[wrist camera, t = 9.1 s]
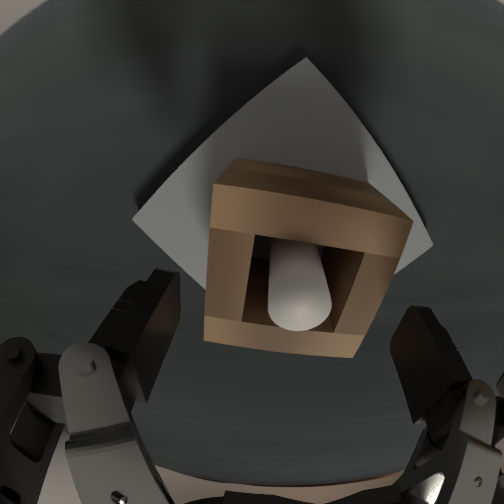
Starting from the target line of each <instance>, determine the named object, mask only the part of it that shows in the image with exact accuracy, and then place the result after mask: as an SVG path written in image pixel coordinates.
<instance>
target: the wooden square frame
mask: <svg viewBox="0 0 504 504" xmlns="http://www.w3.org/2000/svg"><path fill="white" fill-rule="evenodd" d="M413 222H414V221H413V220H412V219H411V218H410V217H409V216H407V215H406V214H405V213H404V212H403V211H402V210H401V209H400V208H398V207H397V206H396V205H395V204H394V203H393V202H391V201H390V200H389V199H388V198H387V197H386V196H384V195H383V194H382V193H381V192H380V191H378V190H377V189H376V188H375V187H373V186H372V185H371V184H370V183H368V182H364V181H360V180H356V179H352V178H347V177H343V176H338V175H334V174H329V173H324V172H320V171H315V170H309V169H304V168H299V167H293V166H288V165H282V164H276V163H270V162H263V161H256V160H249V159H242V158H235V159H234V160H233V161H232V163H231V164H230V165H229V166H228V167H227V168H226V169H225V171H224V172H223V173H222V174H221V175H220V176H219V178H218V179H217V180H216V181H215V182H214V184H213V194H212V206H211V218H210V230H209V244H208V259H207V276H206V296H205V319H204V341H210V342H216V343H221V344H227V345H234V346H240V347H247V348H254V349H261V350H269V351H277V352H286V353H295V354H305V355H317V356H330V357H347V358H353V356H354V355H355V353H356V351H357V349H358V347H359V346H360V344H361V342H362V340H363V338H364V336H365V334H366V332H367V331H368V329H369V327H370V325H371V323H372V321H373V319H374V317H375V315H376V313H377V311H378V308H379V306H380V304H381V302H382V300H383V298H384V296H385V293H386V291H387V289H388V287H389V284H390V282H391V280H392V277H393V275H394V273H395V270H396V268H397V265H398V263H399V260H400V258H401V255H402V253H403V250H404V247H405V245H406V242H407V239H408V237H409V234H410V231H411V228H412V225H413ZM255 234H256V235H262V236H269V237H275V238H281V239H288V240H294V241H300V242H306V243H312V244H318V245H324V249H323V252H322V256H321V259H320V260H321V263H322V267H323V271H324V274H325V278H326V282H327V285H328V289H329V293H330V297H331V302H332V307H331V311H330V313H329V315H328V317H327V318H326V319H325V320H324V321H323V322H322V323H321V324H319V325H318V326H316V327H314V328H312V329H308V330H304V331H291V330H287V329H284V328H282V327H280V326H278V325H277V324H275V323H274V322H273V320H272V319H271V318H270V316H269V313H268V293H269V269H270V260H268V259H262V258H255V257H252V250H253V244H254V238H255Z"/></svg>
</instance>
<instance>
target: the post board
mask: <svg viewBox="0 0 504 504" xmlns="http://www.w3.org/2000/svg"><path fill="white" fill-rule="evenodd" d="M235 158H242V159H249V160H256V161H263V162H270V163H276V164H282V165H288V166H293V167H299V168H304V169H309V170H315V171H320V172H324V173H329V174H334V175H338V176H343V177H347V178H352V179H356V180H360V181H364V182H368V183H370V184H371V185H372V186H373V187H375V188H376V189H377V190H378V191H380V192H381V193H382V194H383V195H384V196H386V197H387V198H388V199H389V200H390V201H391V202H393V203H394V204H395V205H396V206H397V207H398V208H400V209H401V210H402V211H403V212H404V213H405V214H406V215H407V216H409V217H410V218H411V219H412V220H413V221H414V222H413V225H412V228H411V231H410V234H409V237H408V239H407V242H406V245H405V247H404V250H403V253H402V255H401V258H400V260H399V263H398V265H397V268H396V270H395V273H394V274H396V273H397V272H398V271H400V270H401V269H402V268H404V267H405V266H407V265H408V264H409V263H411V262H412V261H413V260H415V259H416V258H417V257H419V256H420V255H421V254H423V253H424V252H425V251H427V250H428V249H429V248H430V247H432V246H433V244H432V241H431V239H430V237H429V235H428V233H427V231H426V229H425V227H424V224H423V222H422V220H421V218H420V216H419V215H418V213H417V211H416V209H415V207H414V205H413V203H412V201H411V199H410V198H409V196H408V194H407V192H406V190H405V189H404V187H403V185H402V183H401V182H400V180H399V178H398V177H397V175H396V173H395V172H394V170H393V168H392V167H391V165H390V164H389V162H388V160H387V159H386V157H385V156H384V154H383V153H382V151H381V150H380V148H379V147H378V145H377V144H376V142H375V141H374V139H373V138H372V136H371V135H370V134H369V132H368V131H367V129H366V128H365V127H364V125H363V124H362V122H361V121H360V120H359V118H358V117H357V116H356V114H355V113H354V112H353V111H352V109H351V108H350V107H349V105H348V104H347V103H346V102H345V100H344V99H343V98H342V97H341V95H340V94H339V93H338V92H337V91H336V89H335V88H334V87H333V86H332V85H331V84H330V82H329V81H328V80H327V79H326V78H325V77H324V76H323V74H322V73H321V72H320V71H319V70H318V69H317V68H316V67H315V66H314V65H313V64H312V62H311V61H310V60H309V59H308V58H307V57H306V58H304V59H303V60H301V61H300V62H299V63H297V64H296V65H294V66H293V67H292V68H290V69H289V70H288V71H286V72H285V73H284V74H282V75H281V76H280V77H278V78H277V79H276V80H275V81H273V82H272V83H271V84H270V85H268V86H267V87H266V88H265V89H263V90H262V91H261V92H260V93H258V94H257V95H256V96H255V97H254V98H252V99H251V100H250V101H249V102H248V103H246V104H245V105H244V106H243V107H242V108H241V109H239V110H238V111H237V112H236V113H235V114H234V115H233V116H231V117H230V118H229V119H228V120H227V121H226V122H225V123H224V124H223V125H221V126H220V127H219V128H218V129H217V130H216V131H215V132H214V133H213V134H212V135H211V136H210V137H209V138H208V139H207V140H205V141H204V142H203V143H202V144H201V145H200V146H199V147H198V148H197V149H196V150H195V151H194V152H193V153H192V154H191V155H190V156H189V157H188V158H187V159H186V160H185V161H184V162H183V163H182V164H181V165H180V166H179V167H178V168H177V170H176V171H175V172H174V173H173V174H172V175H171V176H170V177H169V178H168V179H167V180H166V181H165V182H164V183H163V184H162V186H161V187H160V188H159V189H158V190H157V191H156V192H155V193H154V194H153V196H152V197H151V198H150V199H149V200H148V201H147V202H146V204H145V205H144V206H143V207H142V208H141V209H140V211H139V212H138V213H137V214H136V215H135V216H134V218H133V219H132V220H133V221H134V222H135V223H136V224H137V225H138V226H139V227H140V228H141V229H142V230H143V231H144V232H145V233H146V234H147V235H148V236H149V237H150V238H151V239H152V240H153V241H154V242H155V243H156V244H157V245H158V246H159V247H160V248H161V249H162V250H163V251H164V252H166V253H167V254H168V255H169V256H170V257H171V258H172V259H173V260H174V261H175V262H176V263H177V264H178V265H179V266H180V267H181V268H183V269H184V270H185V271H186V272H187V273H188V274H189V275H190V276H191V277H192V278H193V279H194V280H196V281H197V282H198V283H199V284H200V285H201V286H202V287H203V288H204V289H205V290H206V276H207V259H208V244H209V230H210V218H211V206H212V194H213V184H214V182H215V181H216V180H217V179H218V178H219V176H220V175H221V174H222V173H223V172H224V171H225V169H226V168H227V167H228V166H229V165H230V164H231V163H232V161H233V160H234V159H235ZM323 249H324V245H318V244H312V243H306V242H300V241H294V240H288V239H281V238H275V237H269V236H262V235H256V234H255V238H254V244H253V250H252V257H255V258H262V259H268V260H270V269H269V293H268V313H269V316H270V318H271V319H272V320H273V322H274V323H275V324H277V325H278V326H280V327H282V328H284V329H287V330H291V331H304V330H308V329H312V328H314V327H316V326H318V325H319V324H321V323H322V322H323V321H324V320H325V319H326V318H327V317H328V315H329V313H330V311H331V307H332V302H331V297H330V293H329V289H328V285H327V282H326V278H325V274H324V271H323V267H322V263H321V260H320V259H321V256H322V252H323Z"/></svg>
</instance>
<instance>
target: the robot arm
mask: <svg viewBox="0 0 504 504" xmlns="http://www.w3.org/2000/svg"><path fill="white" fill-rule="evenodd" d="M180 310H181V306H180V274H179V272H176V271H170V270H165V269H159V268H156V269H155V270H154V271H153V273H152V274H151V275H150V277H149V278H148V280H147V281H141V280H139V281H137V282H135V283H134V284H132V285H131V286H129V287H127V288H126V290H125V291H124V292H123V294H122V295H121V297H120V298H119V300H118V301H117V302H116V303H115V305H114V306H113V309H111V310H110V312H109V313H108V315H107V316H106V317H105V319H104V320H103V322H102V323H101V325H100V326H99V328H98V329H97V331H96V332H95V333H94V335H93V336H92V338H91V339H90V341H89V342H88V343H80V344H76V345H74V346H72V347H70V348H69V349H67V350H66V351H65V352H64V353H63V355H57V354H46V353H37V352H36V350H35V348H34V346H33V344H32V342H31V341H30V340H28V339H27V338H24V337H13V338H10V339H8V340H6V341H5V342H4V343H2V344H1V345H0V504H37V502H38V499H39V495H40V492H41V489H42V485H43V482H44V479H45V476H46V473H47V470H48V467H49V464H50V462H51V459H52V456H53V453H54V451H55V448H56V446H57V443H58V440H59V438H60V435H61V433H62V430H63V428H64V426H65V424H67V425H68V429H69V434H70V439H69V440H68V441H66V443H65V452H66V457H67V461H68V464H69V468H70V471H71V474H72V477H73V481H74V484H75V487H76V489H77V492H78V495H79V498H80V500H81V503H82V504H176V503H175V502H174V500H173V498H172V496H171V495H170V493H169V491H168V489H167V488H166V486H165V484H164V482H163V480H162V479H161V477H160V475H159V473H158V471H157V470H156V468H155V466H154V464H153V462H152V460H151V458H150V456H149V454H148V451H147V449H146V447H145V445H144V443H143V440H142V438H141V436H140V433H139V431H138V428H137V426H136V424H135V421H134V418H133V416H132V413H131V410H132V408H133V405H134V403H135V400H136V401H139V402H142V403H145V404H147V401H148V399H149V396H150V393H151V391H152V388H153V386H154V383H155V380H156V378H157V375H158V373H159V370H160V368H161V365H162V363H163V360H164V358H165V355H166V353H167V351H168V348H169V346H170V343H171V341H172V338H173V336H174V334H175V331H176V329H177V326H178V323H179V319H180ZM390 352H391V355H392V358H393V361H394V364H395V367H396V370H397V373H398V376H399V379H400V382H401V385H402V388H403V391H404V394H405V397H406V401H407V404H408V407H409V411H410V414H411V418H412V421H413V424H420V423H426V424H427V427H425V428H424V429H423V431H422V432H421V435H420V437H419V440H418V442H417V445H416V447H415V449H414V452H413V454H412V456H411V458H410V461H409V463H408V465H407V467H406V469H405V471H404V473H403V474H402V475H401V476H400V478H399V479H398V480H396V482H394V484H393V485H390V486H385V487H380V488H374V489H368V490H363V491H360V492H358V493H355V494H352V495H350V496H347V497H344V498H341V499H338V500H336V501H332V502H329V503H326V504H504V474H503V473H502V471H501V468H500V465H501V459H502V453H501V451H500V450H499V449H497V448H495V444H497V443H498V442H499V441H500V440H502V439H503V438H504V375H503V377H502V378H501V380H500V381H499V383H498V385H497V391H498V393H499V395H500V397H498V396H495V394H494V392H493V390H492V388H491V387H490V386H489V385H488V384H487V383H486V382H484V381H482V380H479V379H475V380H473V379H472V377H471V375H470V373H469V371H468V369H467V367H466V365H465V363H464V361H463V359H462V357H461V355H460V354H459V352H458V351H457V348H456V346H455V344H454V343H452V339H451V337H450V336H449V334H448V332H447V330H446V329H445V328H444V327H443V326H442V325H441V324H440V323H439V321H438V320H437V318H436V316H435V315H434V313H433V312H432V310H431V309H430V308H429V307H422V306H410V307H409V308H408V309H407V311H406V312H405V314H404V316H403V318H402V320H401V322H400V324H399V326H398V327H397V329H396V331H395V333H394V334H393V336H392V339H391V342H390ZM23 404H25V405H24V407H23V409H22V411H21V413H20V415H19V417H18V419H17V416H18V414H19V412H20V410H21V408H22V406H23ZM16 419H17V421H16V424H15V426H14V428H13V430H12V432H11V429H12V427H13V425H14V423H15V420H16ZM10 432H11V434H10ZM185 504H313V503H307V502H302V501H297V500H293V499H288V498H284V497H280V496H276V495H265V494H252V493H242V492H233V491H225V493H224V496H223V497H211V498H205V499H199V500H196V501H191V502H188V503H185Z"/></svg>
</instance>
